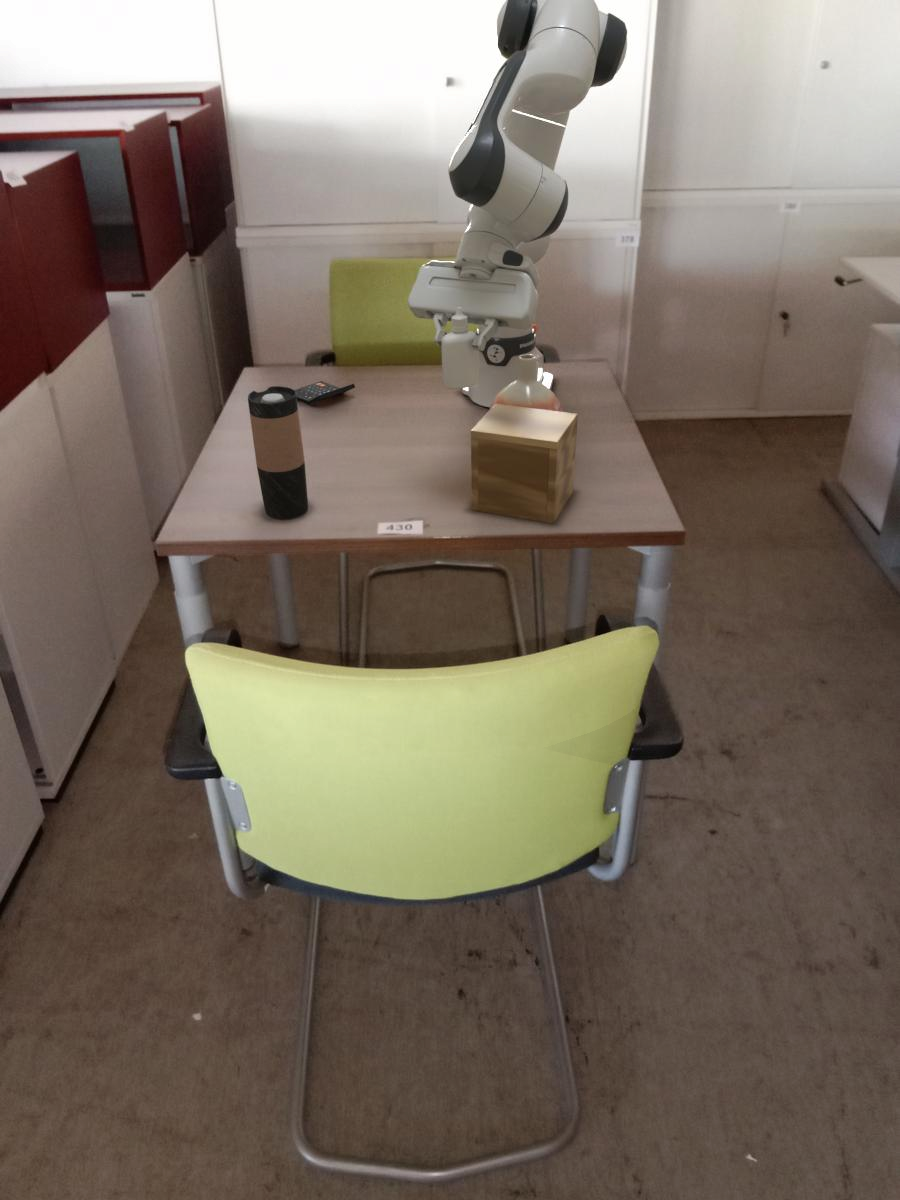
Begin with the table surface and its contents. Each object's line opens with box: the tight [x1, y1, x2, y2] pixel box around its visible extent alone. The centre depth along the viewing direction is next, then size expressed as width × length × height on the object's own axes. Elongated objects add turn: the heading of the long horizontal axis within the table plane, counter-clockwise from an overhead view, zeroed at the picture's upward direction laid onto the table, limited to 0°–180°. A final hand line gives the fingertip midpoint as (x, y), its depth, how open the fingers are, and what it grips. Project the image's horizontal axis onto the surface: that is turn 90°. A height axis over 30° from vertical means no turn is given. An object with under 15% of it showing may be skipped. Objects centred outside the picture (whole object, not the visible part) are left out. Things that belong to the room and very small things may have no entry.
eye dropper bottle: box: [441, 307, 479, 390], centre depth 142 cm, size 4×6×12 cm
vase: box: [488, 354, 563, 412], centre depth 168 cm, size 14×14×18 cm
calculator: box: [293, 380, 356, 406], centre depth 196 cm, size 9×12×3 cm
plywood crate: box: [470, 404, 578, 524], centre depth 151 cm, size 12×14×14 cm
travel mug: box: [247, 385, 309, 521], centre depth 149 cm, size 8×8×20 cm
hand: (458, 346), depth 141 cm, fingers closed on eye dropper bottle, 5 cm apart
